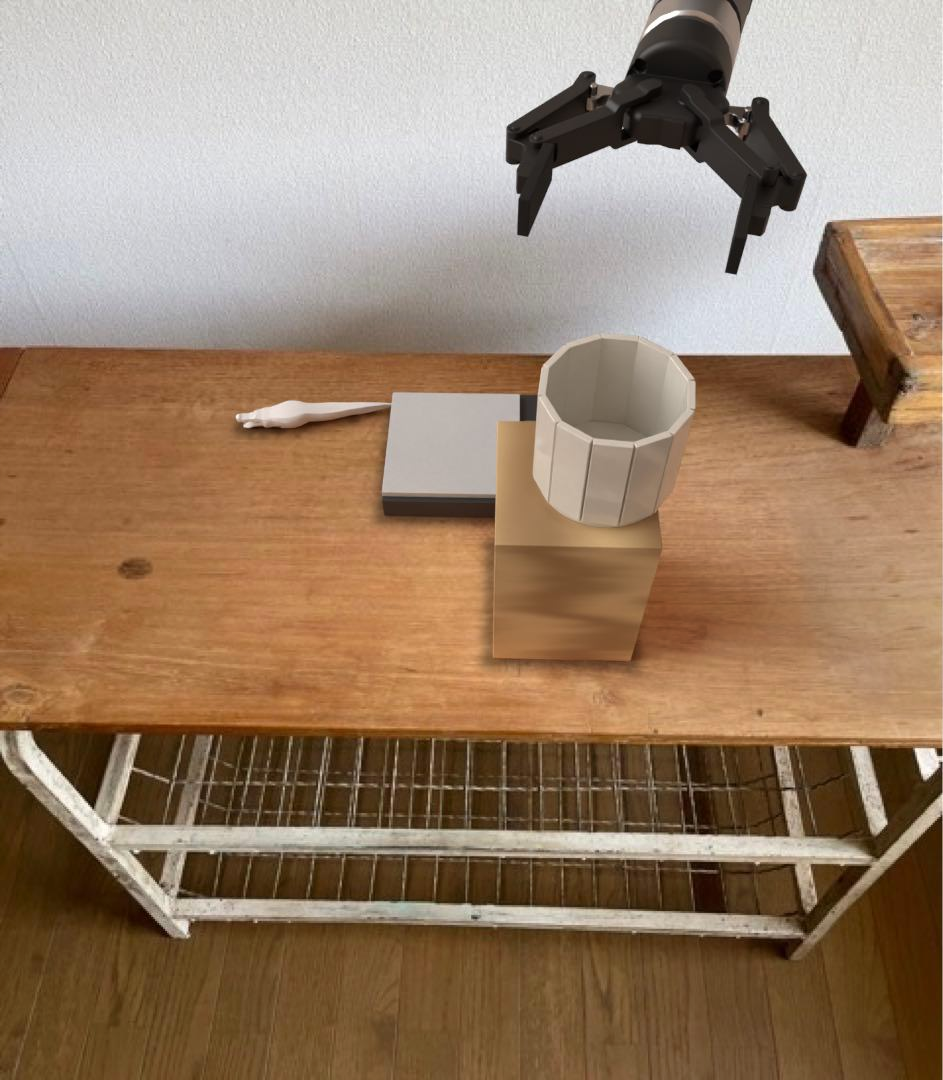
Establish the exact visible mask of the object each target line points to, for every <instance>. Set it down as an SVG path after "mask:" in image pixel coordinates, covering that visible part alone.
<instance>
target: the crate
mask: <svg viewBox="0 0 943 1080" xmlns="http://www.w3.org/2000/svg"><path fill="white" fill-rule="evenodd" d="M535 430H536V421H497V456H496V504H495V518H494V555H493V557H494V559H493V561H494V562H493V565H494V566H493V567H494V568H493V618H492V619H493V622H492V623H493V624H492V625H493V626H492V634H493V635H492V658H493V659H517V660H555V661H556V660H558V661H559V660H560V661H561V660H565V661H602V662H603V661H604V662H609V661H610V662H631V661H632V657H633V655H634V649H635V647H636V643H637V640H638V636H639V633H640V629H641V627H642V626H641V625H642V622H643V618H644V615H645V611H646V607H647V605H648V600H649V597H650V593H651V590H652V587H653V583H654V579H655V576H656V572H657V569H658V565H659V561H660V558H661V555H662V552H663V541H662V539H663V538H662V530H661V522H660V521H661V520H660V511H659V509H658V510H657V511H656V512H655V513H653V514H652V515H651V516H648V517H646V518H645V519H643V520H641V521H639V522H636V523H634V524H631V525H627V526H622V527H614V528H601V527H593V526H588V525H584V524H581V523H578V522H576V521H573V520H571V519H569V518H567V517H565V516H564V515H562V514H561V513H559V512H558V511H557V510H556V509H554V508H553V507H552V506H551V505H550V504H549V503H548V502H547V501H546V499H545V497H544V496H543V494H542V492H541V490H540V488H539V487H538V485H537V483H536V481H535V480H534V478H533V459H534V445H535Z"/></svg>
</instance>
